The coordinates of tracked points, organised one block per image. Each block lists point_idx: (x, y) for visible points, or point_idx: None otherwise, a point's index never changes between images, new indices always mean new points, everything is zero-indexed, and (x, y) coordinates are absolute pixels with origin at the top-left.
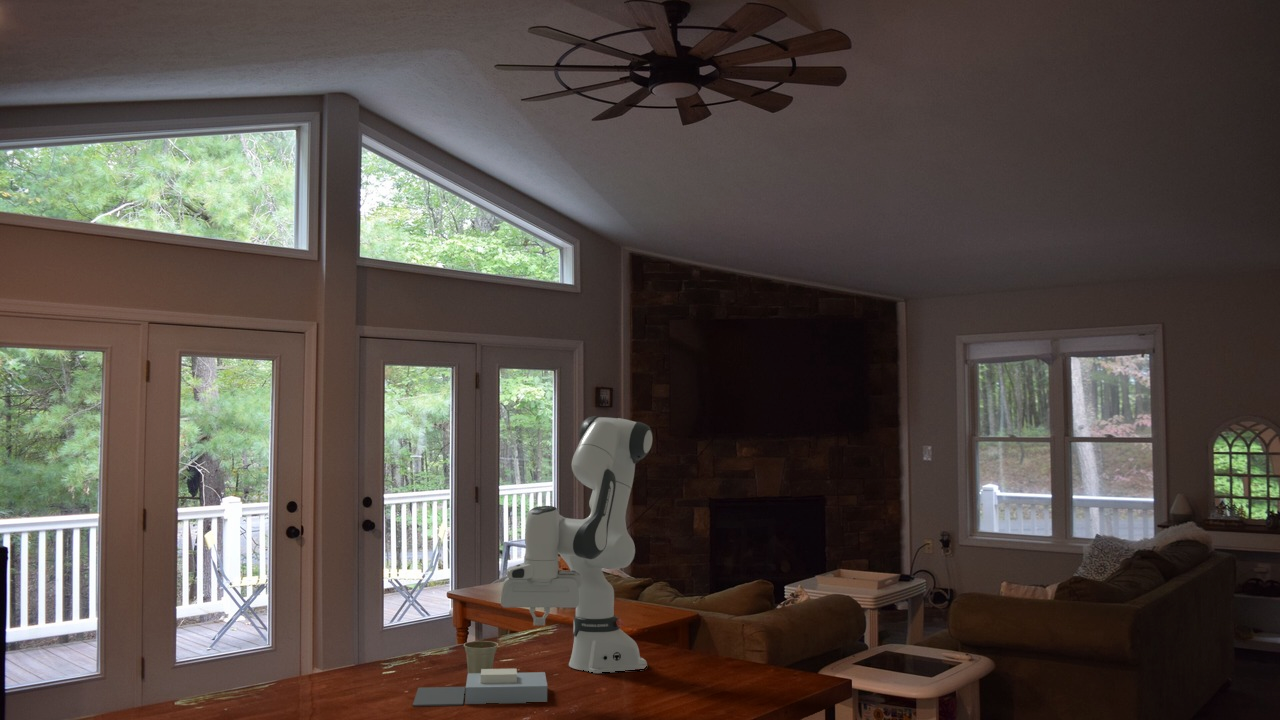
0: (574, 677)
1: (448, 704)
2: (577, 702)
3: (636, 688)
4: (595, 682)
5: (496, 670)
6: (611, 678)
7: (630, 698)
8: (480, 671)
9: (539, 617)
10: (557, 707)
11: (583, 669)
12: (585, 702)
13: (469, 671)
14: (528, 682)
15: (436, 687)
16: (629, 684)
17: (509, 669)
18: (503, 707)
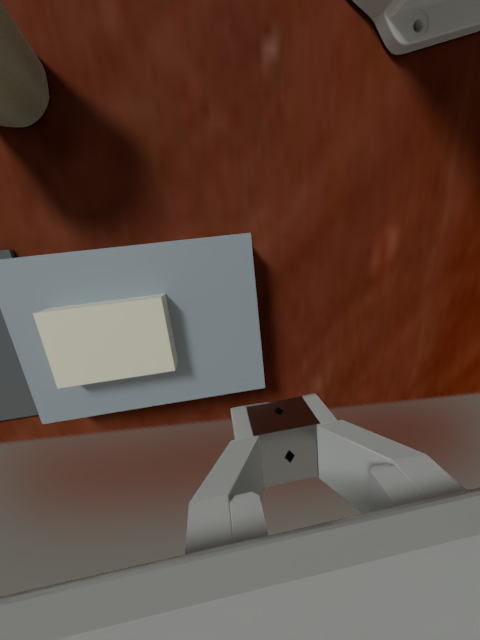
0: (327, 104)
1: (27, 415)
2: (322, 362)
3: (467, 234)
4: (380, 171)
5: (95, 329)
6: (429, 120)
7: (435, 323)
8: (2, 118)
9: (289, 434)
10: None
11: (364, 5)
12: (339, 360)
13: None
14: (211, 358)
15: None
16: (460, 193)
17: (138, 312)
18: (164, 412)
